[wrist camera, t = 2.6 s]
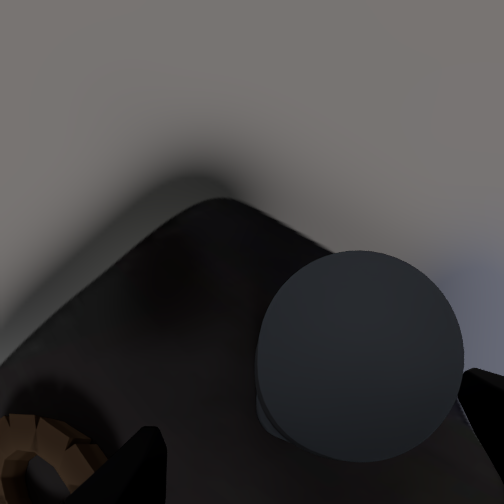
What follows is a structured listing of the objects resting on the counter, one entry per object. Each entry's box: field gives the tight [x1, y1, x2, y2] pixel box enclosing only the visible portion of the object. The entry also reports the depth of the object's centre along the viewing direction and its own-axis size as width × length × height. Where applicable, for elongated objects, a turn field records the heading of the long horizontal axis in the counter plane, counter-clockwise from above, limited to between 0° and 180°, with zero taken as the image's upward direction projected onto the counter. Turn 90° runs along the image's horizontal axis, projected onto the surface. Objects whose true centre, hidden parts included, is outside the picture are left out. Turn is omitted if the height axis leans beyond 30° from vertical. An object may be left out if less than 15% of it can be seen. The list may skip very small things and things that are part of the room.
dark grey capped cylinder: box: [255, 251, 464, 462], centre depth 10 cm, size 4×4×12 cm
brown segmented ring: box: [0, 414, 108, 504], centre depth 10 cm, size 10×10×2 cm
